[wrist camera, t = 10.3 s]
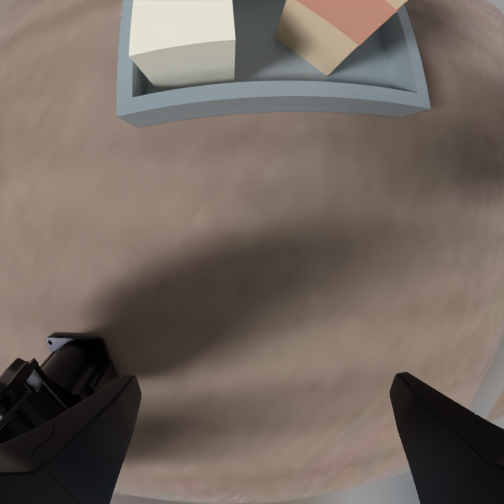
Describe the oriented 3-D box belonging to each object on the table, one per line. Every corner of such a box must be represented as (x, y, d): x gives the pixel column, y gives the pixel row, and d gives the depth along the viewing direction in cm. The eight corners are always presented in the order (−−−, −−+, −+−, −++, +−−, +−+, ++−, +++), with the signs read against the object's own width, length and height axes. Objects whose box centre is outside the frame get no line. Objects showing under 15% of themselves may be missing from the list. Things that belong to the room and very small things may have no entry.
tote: (137, 127, 18) (116, 116, 14) (140, 0, 15) (127, -25, 11) (401, 117, 19) (430, 109, 15) (375, 0, 16) (394, -21, 12)
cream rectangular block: (161, 94, 17) (128, 56, 10) (161, 8, 15) (140, -45, 8) (233, 85, 17) (235, 39, 10) (227, -1, 15) (227, -58, 9)
